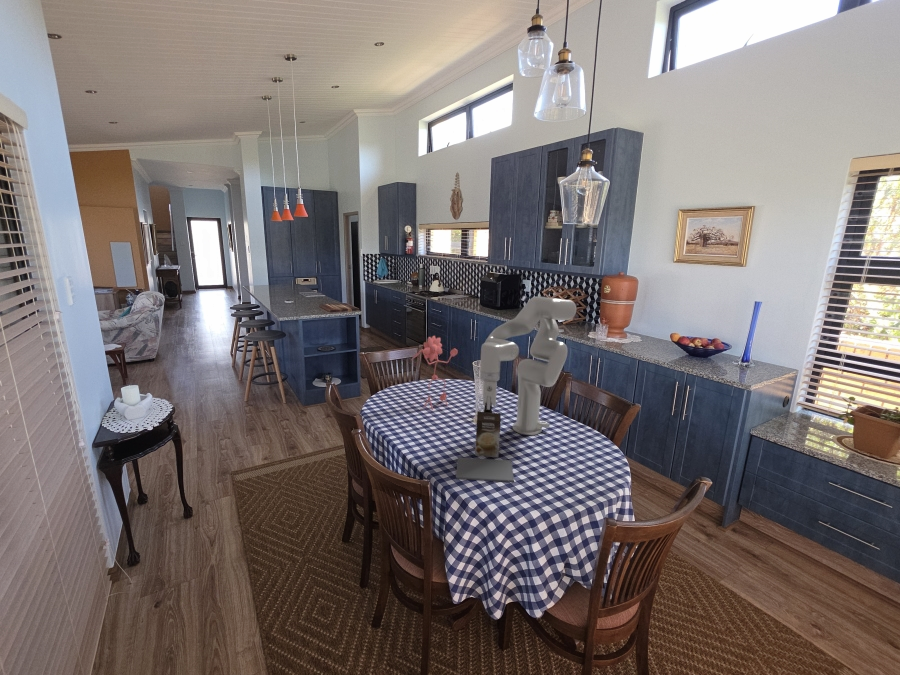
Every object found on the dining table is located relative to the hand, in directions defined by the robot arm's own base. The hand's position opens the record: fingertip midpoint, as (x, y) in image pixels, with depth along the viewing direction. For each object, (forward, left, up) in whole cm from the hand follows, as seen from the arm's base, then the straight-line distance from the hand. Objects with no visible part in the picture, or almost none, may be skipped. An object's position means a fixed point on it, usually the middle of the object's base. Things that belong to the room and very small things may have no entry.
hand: (487, 419), depth 171 cm
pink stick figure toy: (+27, -46, -13) cm, 54 cm away
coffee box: (0, +3, -12) cm, 13 cm away
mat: (+1, +16, -12) cm, 21 cm away
